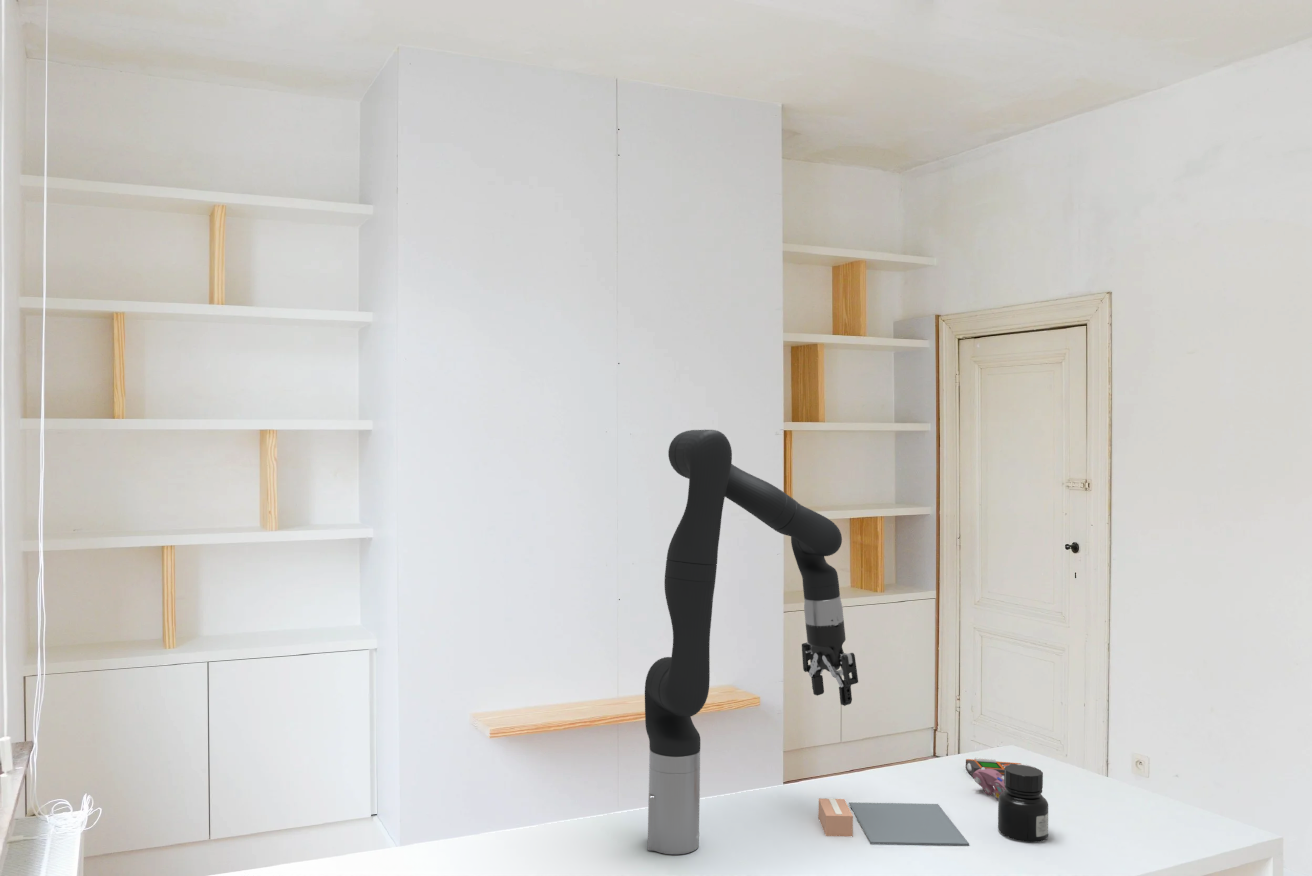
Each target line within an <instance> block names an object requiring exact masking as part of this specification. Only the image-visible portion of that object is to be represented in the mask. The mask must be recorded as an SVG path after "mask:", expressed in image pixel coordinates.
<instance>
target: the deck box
mask: <svg viewBox="0 0 1312 876" xmlns="http://www.w3.org/2000/svg"><path fill="white" fill-rule="evenodd" d="M849 807H850V806H848V804H847V802H846V799H845V798H821V797H820V798H818V812H817V813H818V815H817V816H818V820H820V821H819V823H820V825H821V828H822V830H823V832H824V835H825V837H850V838H851V836H852V837H853V836H854V835H853V834H854V815H853V813H852V812H851V811H852V810H851V808H849Z"/></svg>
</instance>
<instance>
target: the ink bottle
mask: <svg viewBox="0 0 1312 876" xmlns="http://www.w3.org/2000/svg"><path fill="white" fill-rule="evenodd" d="M1025 765H1026V764H1025ZM1025 765H1009V766H1006V767H1005V768H1004V784H1005V785H1004V787H1005V790H1004V792H1002V793H1001V794H1000V795H999V798H997V799H998V800H997V801H998V804H997V829H998V832H999V833H1000V834H1001V835H1003V837H1006V838H1008V839H1011V840H1014V841H1018V842H1019V841H1020V842H1027V843H1040V842H1043V841H1046V840H1047V839H1048V837H1049V802H1048V800H1047V799H1046V798H1045V797H1044V795H1042V794H1043V784H1044V779H1043V778H1044V775H1043V774H1044V773H1043V771H1042V770H1041V769H1039V768H1036V767H1035V766H1033V767H1031V766H1032V765H1030V766H1025ZM1034 767H1035V768H1034Z"/></svg>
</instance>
